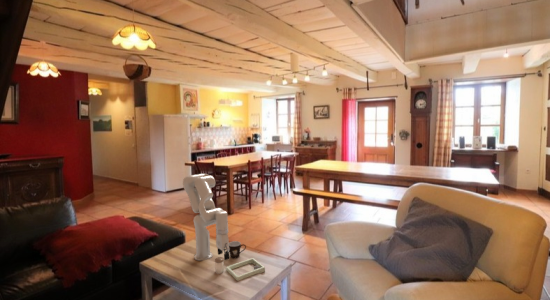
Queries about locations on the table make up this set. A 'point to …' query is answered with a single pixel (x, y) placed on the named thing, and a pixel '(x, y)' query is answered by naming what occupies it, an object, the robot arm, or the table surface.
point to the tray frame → (249, 261)
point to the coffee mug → (235, 249)
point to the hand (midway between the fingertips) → (223, 256)
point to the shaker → (219, 265)
